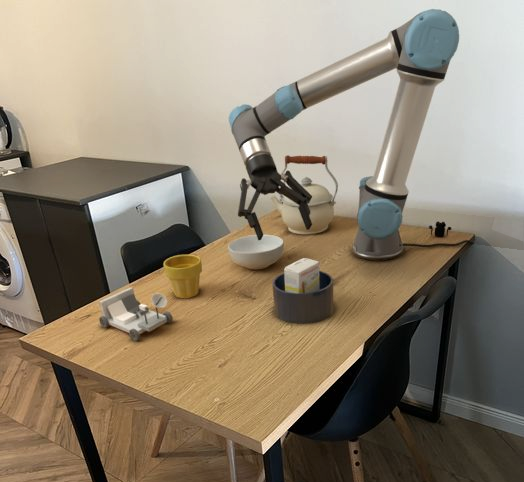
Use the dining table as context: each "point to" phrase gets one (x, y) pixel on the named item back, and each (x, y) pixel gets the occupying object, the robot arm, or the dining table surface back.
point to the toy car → (133, 313)
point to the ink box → (302, 276)
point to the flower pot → (184, 274)
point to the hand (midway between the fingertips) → (285, 232)
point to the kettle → (318, 204)
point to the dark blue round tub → (303, 301)
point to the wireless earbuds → (440, 229)
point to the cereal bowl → (256, 251)
